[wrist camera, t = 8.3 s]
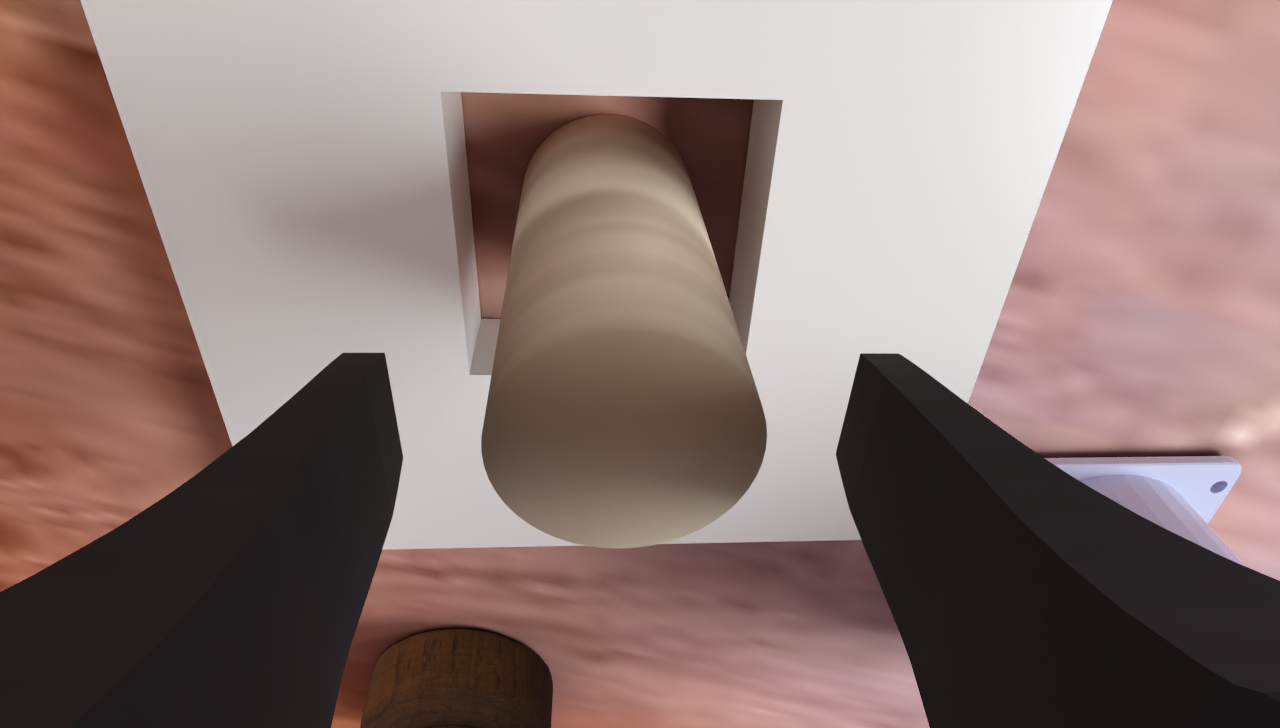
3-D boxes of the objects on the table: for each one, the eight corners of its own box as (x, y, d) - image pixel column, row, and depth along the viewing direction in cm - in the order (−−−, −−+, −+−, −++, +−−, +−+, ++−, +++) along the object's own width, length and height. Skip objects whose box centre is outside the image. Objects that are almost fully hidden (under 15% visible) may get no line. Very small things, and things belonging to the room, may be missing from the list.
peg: (684, 275, 19) (748, 546, 12) (525, 273, 19) (491, 551, 12) (698, 116, 17) (787, 330, 10) (517, 111, 17) (469, 329, 10)
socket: (890, 478, 24) (919, 538, 22) (296, 486, 23) (268, 552, 21) (1117, -261, 14) (1211, -277, 12) (60, -328, 12) (-43, -360, 10)
